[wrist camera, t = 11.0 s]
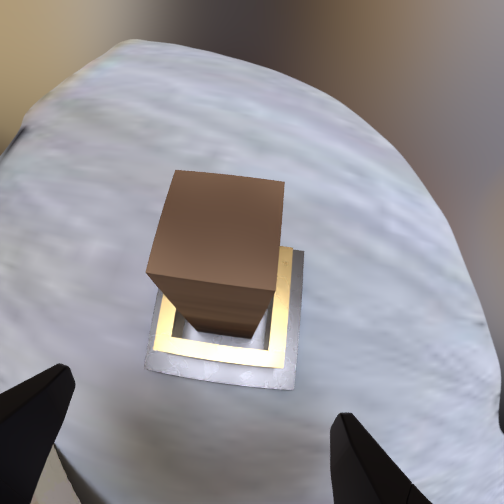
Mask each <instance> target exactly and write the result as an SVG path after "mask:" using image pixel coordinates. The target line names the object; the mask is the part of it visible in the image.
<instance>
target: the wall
mask: <svg viewBox="0 0 504 504" xmlns="http://www.w3.org/2000/svg"><path fill="white" fill-rule="evenodd" d="M31 504H81V502H80V500H79V498H78V497H77V496H76V493H75V492H74V490H73V488H72V485H71V483H70V481H68V478H67V475H66V473H65V470H64V469H63V467H62V465H61V462H60V460H59V457H58V455H57V453H56V449H54V444H53V446H52V449H51V451H50V453H49V456H48V458H47V461H46V463H45V466H44V468H43V471H42V473H41V476H40V479H39V481H38V484H37V487H36V490H35V492H34V495H33V498H32V501H31Z"/></svg>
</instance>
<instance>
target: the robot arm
mask: <svg viewBox="0 0 504 504" xmlns="http://www.w3.org/2000/svg"><path fill="white" fill-rule="evenodd" d="M74 390H75V380H74V378H73V375H72V372H71V370H70V368H69V367H68V366H66V365H63V364H60V363H59V364H56V365H54V366H53V367H51V368H49V369H47V370H45V371H43V372H41V373H39V374H37V375H35V376H34V377H32V378H30V379H28V380H26V381H24V382H22V383H20V384H18V385H16V386H14V387H13V388H11V389H9V390H7V391H5V392H3V393H1V394H0V504H31V501H32V498H33V495H34V492H35V490H36V487H37V484H38V481H39V479H40V476H41V473H42V471H43V468H44V466H45V463H46V461H47V458H48V456H49V453H50V451H51V449H52V446H53V444H54V442H55V439H56V437H57V435H58V433H59V430H60V428H61V426H62V424H63V421H64V418H65V416H66V413H67V410H68V407H69V404H70V401H71V398H72V395H73V392H74ZM330 471H331V481H332V489H333V497H334V504H432V503H431V502H430V501H429V500H428V499H427V498H426V497H425V496H424V495H423V494H422V493H421V492H420V491H419V490H418V489H417V487H416V486H415V485H414V484H412V482H411V481H410V480H409V479H408V477H407V476H406V475H405V474H404V473H403V472H402V471H401V470H400V468H399V467H398V466H397V465H396V464H395V463H394V462H393V460H392V459H391V458H390V457H389V456H388V455H387V453H386V452H385V451H384V450H383V449H382V448H381V447H380V445H379V444H378V443H377V442H376V441H375V440H374V438H373V437H372V436H371V435H370V434H369V433H368V431H367V430H366V429H365V428H364V427H363V425H362V424H361V423H360V422H359V421H358V420H357V418H356V417H355V416H354V415H353V414H352V413H339V414H338V415H337V417H336V419H335V421H334V423H333V424H332V426H331V429H330Z"/></svg>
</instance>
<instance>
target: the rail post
mask: <svg viewBox="0 0 504 504" xmlns="http://www.w3.org/2000/svg"><path fill="white" fill-rule="evenodd" d="M284 184H285V182H281V181H274V180H267V179H259V178H251V177H243V176H234V175H225V174H216V173H206V172H195V171H182V170H175V173H174V176H173V179H172V182H171V185H170V188H169V191H168V194H167V197H166V201H165V204H164V207H163V210H162V214H161V217H160V220H159V224H158V227H157V231H156V235H155V238H154V242H153V245H152V249H151V253H150V257H149V261H148V265H147V269H146V274H147V275H148V276H149V277H150V278H151V280H152V281H153V282H154V283H155V284H156V286H157V287H158V288H159V289H160V290H161V292H162V293H163V294H164V295H165V296H166V297H167V299H168V300H169V301H170V302H171V303H172V304H173V305H174V307H175V308H176V309H177V310H178V311H179V312H180V313H181V314H182V316H183V317H184V318H185V319H186V320H187V321H188V322H189V323H190V324H191V326H192V327H193V328H194V329H195V330H196V331H197V332H203V333H210V334H216V335H223V336H230V337H238V338H246V339H252V337H253V335H254V333H255V331H256V329H257V327H258V325H259V324H260V322H261V320H262V318H263V316H264V314H265V312H266V310H267V308H268V306H269V304H270V302H271V299H272V297H273V295H274V293H275V291H276V283H277V272H278V261H279V249H280V237H281V225H282V212H283V198H284Z"/></svg>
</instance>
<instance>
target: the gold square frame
mask: <svg viewBox="0 0 504 504" xmlns="http://www.w3.org/2000/svg"><path fill="white" fill-rule="evenodd" d="M303 264H304V251H299V250H293V248H291V247H283V246H280V249H279V261H278V272H277V283H276V291H275V293H274V295H273V297H272V299H271V302H270V304H269V306H268V308H267V310H266V312H265V314H264V316H263V318H262V320H261V322H260V324H259V325H258V327H257V329H256V331H255V333H254V335H253V337H252V339H246V338H238V337H230V336H223V335H216V334H210V333H203V332H197V331H196V330H195V329H194V328H193V327H192V326H191V324H190V323H189V322H188V321H187V320H186V319H185V318H184V317H183V316H182V314H181V313H180V312H179V311H178V310H177V309H176V308H175V307H174V305H173V304H172V303H171V302H170V301H169V300H168V299H167V297H166V296H165V295H164V294H163V293H162V292H161V290H160V289H159V288H158V293H157V298H156V303H155V308H154V313H153V318H152V324H151V329H150V335H149V340H148V346H147V353H146V359H145V365H144V369H148V370H152V371H157V372H161V373H166V374H171V375H176V376H182V377H187V378H193V379H199V380H205V381H211V382H218V383H225V384H233V385H241V386H250V387H260V388H271V389H285V390H294V383H295V373H296V362H297V352H298V340H299V328H300V314H301V299H302V283H303Z"/></svg>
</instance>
